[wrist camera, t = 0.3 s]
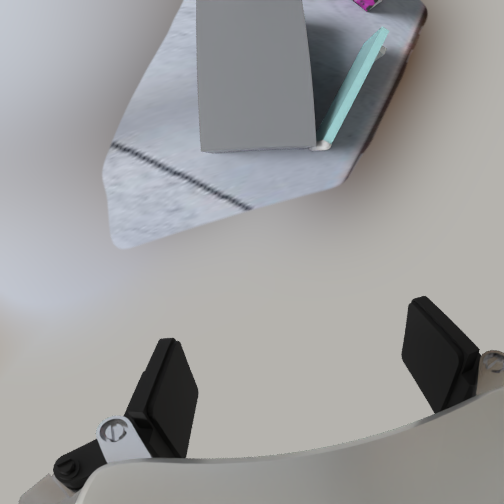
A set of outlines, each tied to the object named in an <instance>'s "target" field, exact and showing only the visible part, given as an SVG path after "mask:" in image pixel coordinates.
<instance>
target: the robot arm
mask: <svg viewBox="0 0 504 504" xmlns="http://www.w3.org/2000/svg"><path fill="white" fill-rule="evenodd" d="M479 350H480V349H479V348H478V347H477V346H476V345H475V344H474V343H473V342H472V341H471V340H470V339H469V338H468V337H467V336H466V335H465V334H464V333H463V332H462V331H461V330H460V329H459V328H458V327H457V326H456V325H455V324H454V323H453V322H452V321H451V320H450V319H449V318H448V317H447V316H446V315H445V314H444V313H443V312H442V311H441V310H440V309H439V308H438V307H437V306H436V305H435V304H434V303H433V302H432V301H431V300H430V299H428V298H427V297H426V296H422V297H418V298H415V299H413V300H412V302H411V303H410V304H409V306H408V314H407V322H406V329H405V336H404V342H403V348H402V359H403V362H404V363H405V365H406V367H407V368H408V370H409V371H410V373H411V374H412V376H413V378H414V379H415V381H416V383H417V384H418V386H419V388H420V389H421V391H422V392H423V394H424V396H425V398H426V399H427V401H428V403H429V404H430V406H431V408H432V410H433V411H434V413H435V414H434V415H431V416H429V417H426V418H424V419H421V420H418V421H416V422H413V423H410V424H407V425H405V426H402V427H399V428H396V429H393V430H390V431H387V432H383V433H380V434H377V435H373V436H370V437H366V438H363V439H358V440H355V441H351V442H346V443H342V444H338V445H333V446H328V447H323V448H318V449H312V450H306V451H300V452H293V453H287V454H278V455H269V456H258V457H246V458H245V457H244V458H216V459H188V458H186V455H187V449H188V445H189V439H190V434H191V428H192V424H193V419H194V414H195V408H196V404H197V399H198V388H197V385H196V383H195V380H194V378H193V375H192V373H191V370H190V367H189V365H188V362H187V360H186V357H185V354H184V351H183V349H182V346H181V343H180V342H179V341H176V340H175V339H174V338H164V339H160V340H159V341H158V344H157V346H156V348H155V350H154V352H153V355H152V357H151V359H150V361H149V363H148V365H147V368H146V370H145V371H144V372H143V373H142V375H141V378H140V380H139V382H138V385H137V387H136V389H135V392H134V393H133V396H132V398H131V401H130V403H129V405H128V407H127V410H126V412H125V414H124V416H112V417H109V418H107V419H105V420H103V421H102V422H101V423H100V424H99V426H98V427H97V430H96V437H97V439H96V440H94V441H92V442H90V443H88V444H86V445H84V446H82V447H80V448H78V449H76V450H73V451H71V452H69V453H67V454H65V455H63V456H61V457H60V458H59V459H58V460H57V461H56V463H55V464H54V468H53V472H54V474H53V475H52V476H51V475H50V474H47V475H46V476H45V477H44V478H43V479H41V480H40V481H39V482H38V483H37V484H35V485H34V486H33V487H32V488H30V489H29V490H28V491H27V492H25V493H24V494H23V495H22V496H21V497H20V500H19V504H504V353H502V352H500V351H497V350H490V351H486V352H485V353H484V354H482V356H481V355H480V354H479Z"/></svg>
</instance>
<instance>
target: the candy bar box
mask: <svg viewBox="0 0 504 504" xmlns="http://www.w3.org/2000/svg"><path fill="white" fill-rule="evenodd" d="M353 1H354V2H355V3H357V4H358V5H359V6H360V7H362V8H363V9H364V10H365V11H367V12H368V11H369V10H370V9H372V8H373V7H374V6H376V5H377V4H378V3H380V2H381V1H382V0H353Z"/></svg>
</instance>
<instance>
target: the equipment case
mask: <svg viewBox="0 0 504 504" xmlns="http://www.w3.org/2000/svg"><path fill="white" fill-rule="evenodd" d="M196 41H197V82H198V107H199V126H200V143H201V152H208V153H222V152H236V151H252V150H276V149H304V148H309V147H314V146H316V129H315V113H314V99H313V87H312V76H311V66H310V56H309V48H308V39H307V32H306V24H305V17H304V10H303V4H302V0H196Z"/></svg>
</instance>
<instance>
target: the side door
mask: <svg viewBox="0 0 504 504" xmlns="http://www.w3.org/2000/svg"><path fill="white" fill-rule="evenodd" d="M388 32H389V31H388V30H387V29H385V28H384V27H381V28H380V29H379V30H378V31H377V32H376V33H375V34H374V35H373V36H372V37H370V38H369V39H368V40H367V41H366V42H365V43H364V44H363V46H362V48H361V50H360V52H359V54H358V55H357V57H356V59H355V61H354V63H353V65H352V67H351V69H350V70H349V72H348V74H347V76H346V78H345V80H344V82H343V84H342V85H341V87H340V89H339V91H338V93H337V95H336V97H335V99H334V100H333V102H332V104H331V106H330V108H329V110H328V112H327V114H326V115H325V117H324V119H323V121H322V123H321V125H320V127H319V129H318V130H317V132H316V146H314V147H309V149H310V150H311V151H320V150H328V149H330V148H331V144H332V142H333V140H334V138H335V136H336V134H337V133H338V131H339V129H340V127H341V125H342V123H343V121H344V119H345V117H346V115H347V113H348V111H349V109H350V108H351V106H352V104H353V102H354V100H355V98H356V96H357V94H358V92H359V90H360V88H361V86H362V84H363V82H364V80H365V78H366V76H367V74H368V72H369V70H370V68H371V66H372V64H373V62H374V61H376V60H377V59H379V58H380V57H381V56H383V55H384V54H385V52H386V50H387V48H385V47H384V46H382V44H383V42H384V40H385V38H386V36H387V34H388Z"/></svg>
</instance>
